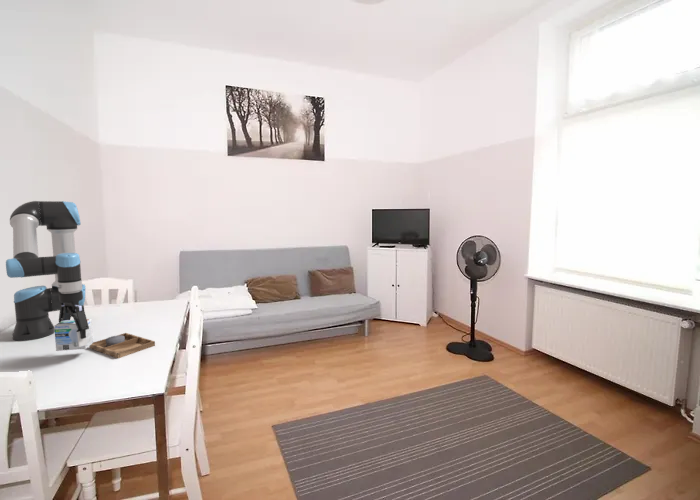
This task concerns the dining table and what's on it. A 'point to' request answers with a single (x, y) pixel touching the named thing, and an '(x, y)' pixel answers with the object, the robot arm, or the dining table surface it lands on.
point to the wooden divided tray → (123, 346)
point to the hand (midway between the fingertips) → (74, 342)
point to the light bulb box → (70, 335)
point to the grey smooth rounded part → (114, 340)
